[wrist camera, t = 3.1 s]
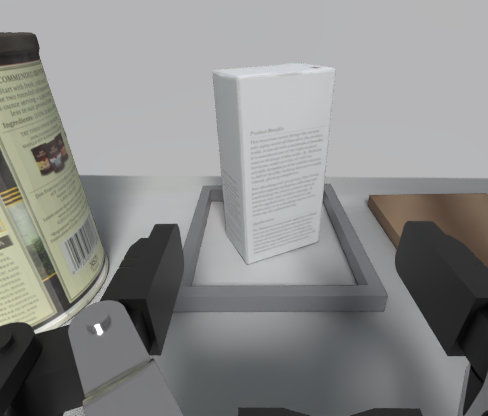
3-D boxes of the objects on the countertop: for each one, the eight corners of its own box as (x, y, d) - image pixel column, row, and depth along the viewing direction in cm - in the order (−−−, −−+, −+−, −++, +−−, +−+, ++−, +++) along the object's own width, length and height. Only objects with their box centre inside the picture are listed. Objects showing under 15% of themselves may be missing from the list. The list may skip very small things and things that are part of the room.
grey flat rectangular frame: (329, 195, 29) (330, 183, 29) (383, 311, 17) (388, 295, 17) (204, 197, 30) (203, 186, 29) (171, 311, 18) (168, 296, 17)
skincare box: (289, 216, 26) (298, 62, 20) (319, 243, 23) (340, 67, 17) (222, 234, 24) (210, 68, 18) (244, 267, 21) (238, 76, 15)
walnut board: (481, 203, 27) (486, 193, 27) (590, 284, 18) (599, 271, 18) (367, 205, 27) (369, 195, 27) (421, 285, 19) (425, 272, 18)
